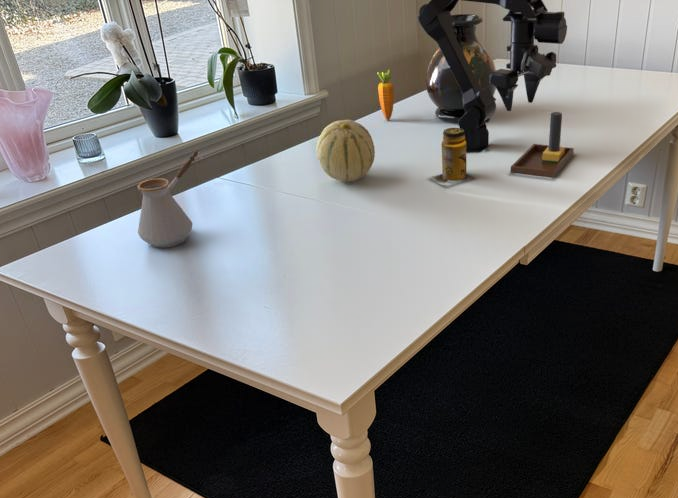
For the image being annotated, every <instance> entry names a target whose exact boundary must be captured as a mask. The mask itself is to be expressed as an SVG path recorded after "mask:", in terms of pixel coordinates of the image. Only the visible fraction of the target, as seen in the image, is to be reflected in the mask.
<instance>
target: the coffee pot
mask: <svg viewBox="0 0 678 498" xmlns="http://www.w3.org/2000/svg"><path fill="white" fill-rule="evenodd" d="M198 154H199V155H200V157H199V155H198ZM201 156H202V157H201ZM195 158H197V159H200V160H201V159H203V158H204V155H203V154H202V153H201V152H199V151H198V150H195V151H194V152H193V153H192V155H189V156H188V160H187V161H186V162H184V163H183V165H182V166H181V168H180V169H179V171H178V172H177V174H176V175H175V177H174V179H173V180H172V181H171V182H170V181H169V180H168V179H167V178H151V179H147V180H144V181H141V182H140V183H139V184H137V187H136V188H137V190H138V191H140V192H141V194H142V202H141V208H140V215H139V222H138V227H137V229H138V230H137V234H138V236H139V238H140V239H141V240H142V241H144V243H146V244H148V245H151V246H152V247H154V248H161V249H162V248H171V247H176V246H177V245H180V244H182V243H184V242H185V241H186V240H187V238H188V237H189V235H190V234H191V232H192V230H193V222H192V220H191V219H190V217H189V216H188V215H187V214H186V212H185V211H184V210H183V208H182V207H181V206H180V204H179V203H178V202H177V201H176V199H175V198H174V197H173V195H172V194H171V193H170V192H171V191H172V189H173V188H174V187H175V185H176V184H177V183H178V182H179V180H180V179H181V178H182V177H183V175H184V174H185V173H186V172H188V169H189V168H190V167H191V164H193V163H192V162H194V161H195Z"/></svg>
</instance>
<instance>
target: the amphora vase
mask: <svg viewBox="0 0 678 498" xmlns="http://www.w3.org/2000/svg"><path fill="white" fill-rule="evenodd" d="M451 17H452V22H453V33H454V35H455V37H456V39H457V41H458V43H459V45H460V47H461V49H462V51H463V53H464V55H465V57H466V59H467V61H468V63H469V65H470V67H471V69H472V71H473V73H474V75H475V77H476V80H477V82H478V83H479V84H480V85H481V86H482V87H483V88H486V87H488V86H489V87H490V89H491V92H492V95H493V96H494V97H495V93H496V91H497V89H496V87H495V86H493V84H490V74H491V73H492V72H493V71H496V70H497V68H496V65H495V61H494V59H493V57H492V56H491V54H490V52H489V51H488V50H487V49H486V48H485V46H484V45H483V44H482V43H481V42H480V40H479V38H478V36H477V27H478V26H479V25H481V24H482V23H483V22H484V18H483V17H482V16H481V15H479V14H470V13H460V14H459V13H458V14H451ZM426 70H427V71H426V76H425V86H426V92H427V94H428V97H429V99H430V101H431V102H432V103H433V104H434V105H435V106H436V109H435V111H434V113H435V116H436V118H437V119H439V120H440V121H443V122H446V123H452V124H458V120H459V119H460V118H461V117H462V116H463V115H464V114H465V113H466V112H465V109H464V106H463V94H462V91H461V89H460V87H459V85H458V83H457V81H456V79H455V77H454V75H453V73H452V71H451V69H450V67H449V65H448V63H447V61H446V59H445V57H444V55H443V53H442V51H441V49H440V47H439V46H438V49H437V50H436V51H435V52H434V54H433V55H432V57H431V59H430V61H429V63H428V67H427V69H426Z"/></svg>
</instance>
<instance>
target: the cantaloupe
mask: <svg viewBox="0 0 678 498" xmlns="http://www.w3.org/2000/svg"><path fill="white" fill-rule="evenodd" d="M375 156H376V150H375V145H374V141H373V138H372V135H371V134H370V132H369V130H368V129H367V128H366V127H365V126H363V125H362V124H361V123H359V122H357V121H355V120H352V119H340V120H336V121H333V122H331V123H330V124H328V125H327V126H325V128H324V129H323V130H322V131H321V133H320V135H319V137H318V139H317V142H316V157H317V161H318V163H319V165H320V168H321V169H322V170H323V172H324V173H325V174H326V175H327V176H329V177H330V178H332V179H334V180H336V181H339V182H344V183H345V182H353V181H357V180H358V179H361V178H364V177H365V176H366V175H367V174H368V173H369V171H370V169H371V168H372V166H373V164H374V161H375Z"/></svg>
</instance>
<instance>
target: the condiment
mask: <svg viewBox="0 0 678 498" xmlns="http://www.w3.org/2000/svg"><path fill="white" fill-rule="evenodd" d="M441 168H442V169H441V171H442V172H441V174H438V175H435V176H431V177H429V179H430V180H431V181H432V182H433V181H434V183H437V184H438V185H441V186H444V185H445V184H446V183H447V182H448V181H461V180H464V179H465V178H466V177H467V152H466V141H465V131H464V130H463V129H461V128H460V127H449V128H445V129H443V132H442V142H441Z"/></svg>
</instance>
